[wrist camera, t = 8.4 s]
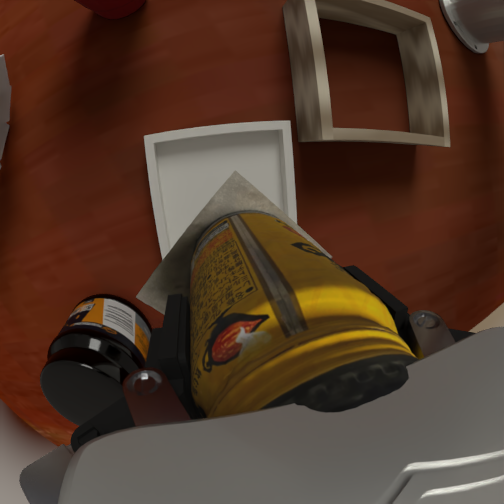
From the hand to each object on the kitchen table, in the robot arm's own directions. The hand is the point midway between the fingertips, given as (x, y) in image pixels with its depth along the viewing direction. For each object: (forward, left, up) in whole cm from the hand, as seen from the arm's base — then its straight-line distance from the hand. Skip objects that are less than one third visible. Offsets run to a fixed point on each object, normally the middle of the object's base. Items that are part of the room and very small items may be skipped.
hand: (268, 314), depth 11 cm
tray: (0, 0, -18) cm, 18 cm away
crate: (-15, +16, -18) cm, 28 cm away
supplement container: (+11, -15, -18) cm, 26 cm away
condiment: (0, -1, -5) cm, 5 cm away
